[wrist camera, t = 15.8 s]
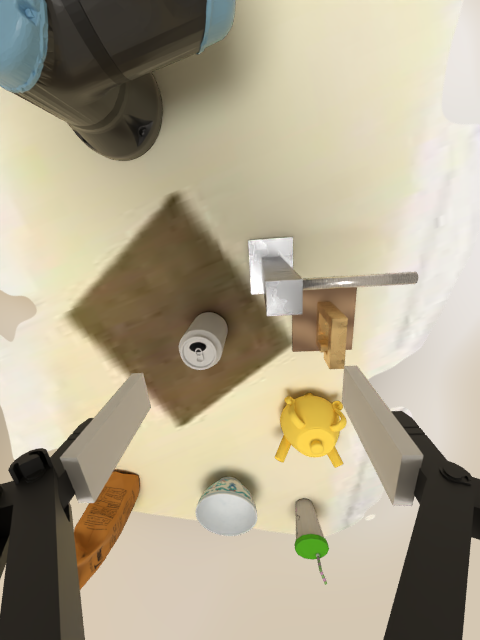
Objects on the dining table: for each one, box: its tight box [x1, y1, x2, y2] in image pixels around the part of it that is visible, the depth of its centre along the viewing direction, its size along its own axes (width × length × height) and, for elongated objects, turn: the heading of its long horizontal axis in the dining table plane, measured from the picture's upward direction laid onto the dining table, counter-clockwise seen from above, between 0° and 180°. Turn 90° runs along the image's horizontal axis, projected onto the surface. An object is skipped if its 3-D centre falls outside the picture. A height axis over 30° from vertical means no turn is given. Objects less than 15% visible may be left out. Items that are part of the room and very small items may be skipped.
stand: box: [248, 237, 418, 316], centre depth 36 cm, size 10×20×24 cm, turn 94°
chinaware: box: [196, 477, 257, 536], centre depth 64 cm, size 15×15×8 cm
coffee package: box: [74, 472, 139, 589], centre depth 60 cm, size 10×12×22 cm
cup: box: [295, 498, 329, 584], centre depth 62 cm, size 8×8×15 cm
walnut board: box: [292, 287, 357, 352], centre depth 50 cm, size 14×12×1 cm
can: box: [179, 312, 228, 370], centre depth 47 cm, size 8×8×12 cm
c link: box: [316, 301, 348, 369], centre depth 46 cm, size 9×2×10 cm, turn 4°
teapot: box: [275, 393, 346, 468], centre depth 53 cm, size 14×14×11 cm
